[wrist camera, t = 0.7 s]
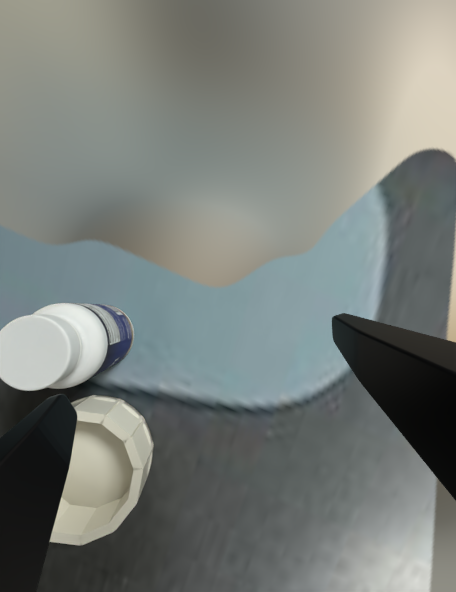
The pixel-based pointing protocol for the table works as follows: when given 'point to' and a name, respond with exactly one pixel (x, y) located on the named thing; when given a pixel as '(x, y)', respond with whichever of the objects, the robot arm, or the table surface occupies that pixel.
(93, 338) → the pill bottle
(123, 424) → the bowl
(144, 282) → the table surface
